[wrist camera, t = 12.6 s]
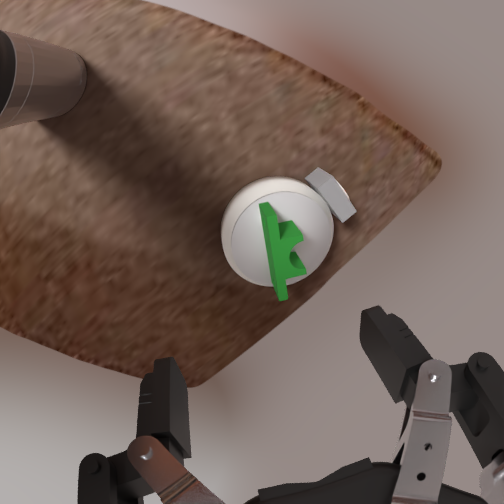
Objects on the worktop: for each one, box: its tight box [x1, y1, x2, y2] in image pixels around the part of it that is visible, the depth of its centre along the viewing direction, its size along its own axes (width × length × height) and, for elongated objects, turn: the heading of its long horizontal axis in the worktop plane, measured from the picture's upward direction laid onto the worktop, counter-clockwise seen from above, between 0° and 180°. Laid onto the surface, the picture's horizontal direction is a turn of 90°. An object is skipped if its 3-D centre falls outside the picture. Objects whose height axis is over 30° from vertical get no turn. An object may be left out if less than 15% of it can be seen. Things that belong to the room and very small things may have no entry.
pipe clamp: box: [259, 202, 307, 301], centre depth 37 cm, size 11×4×5 cm, turn 10°
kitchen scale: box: [221, 167, 357, 286], centre depth 41 cm, size 18×15×5 cm
